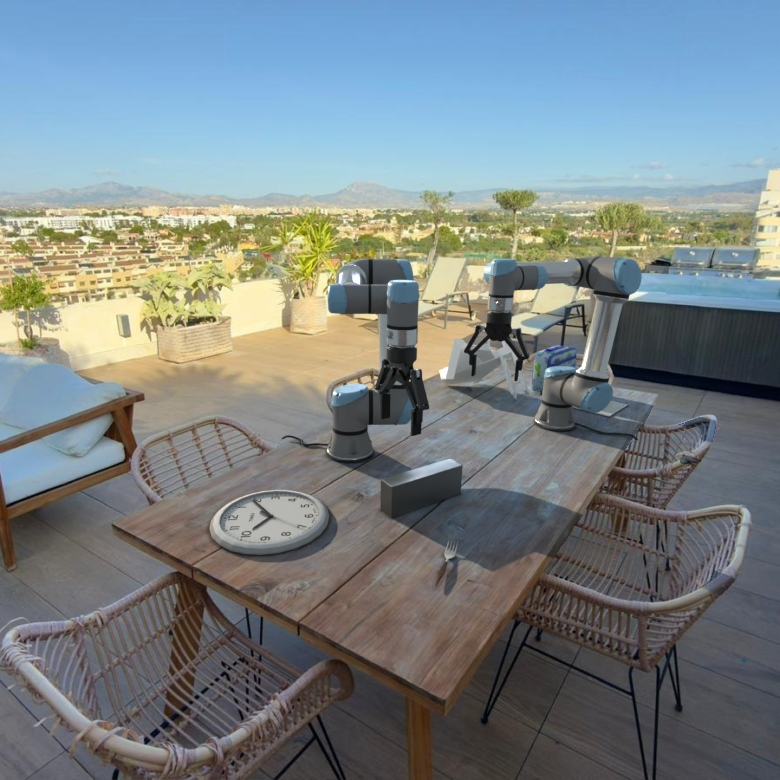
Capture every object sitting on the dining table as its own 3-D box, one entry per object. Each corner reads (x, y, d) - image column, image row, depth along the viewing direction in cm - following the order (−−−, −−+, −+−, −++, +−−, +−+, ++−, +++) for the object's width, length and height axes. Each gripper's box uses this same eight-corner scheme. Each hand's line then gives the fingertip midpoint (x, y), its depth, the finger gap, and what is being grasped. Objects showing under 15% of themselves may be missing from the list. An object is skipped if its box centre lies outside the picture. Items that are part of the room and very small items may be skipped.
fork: (429, 586, 111) (429, 578, 110) (447, 545, 125) (448, 538, 125) (441, 589, 110) (441, 581, 109) (458, 548, 124) (459, 541, 124)
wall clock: (327, 546, 121) (194, 551, 119) (327, 552, 122) (195, 557, 119) (330, 485, 150) (223, 488, 147) (330, 490, 150) (224, 493, 148)
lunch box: (548, 398, 236) (553, 353, 229) (527, 393, 243) (531, 349, 237) (575, 387, 253) (581, 344, 247) (555, 382, 260) (560, 341, 254)
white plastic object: (461, 429, 252) (437, 405, 227) (444, 352, 274) (420, 323, 250) (535, 404, 240) (518, 377, 215) (510, 326, 262) (492, 293, 237)
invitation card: (608, 416, 214) (573, 407, 224) (608, 416, 214) (573, 408, 224) (628, 404, 229) (594, 396, 238) (628, 405, 229) (594, 397, 238)
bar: (448, 486, 154) (450, 458, 152) (460, 493, 150) (462, 464, 147) (380, 509, 141) (380, 479, 138) (391, 518, 137) (391, 487, 134)
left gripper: (362, 337, 135) (362, 414, 142) (420, 357, 116) (417, 445, 122) (386, 334, 139) (385, 409, 146) (446, 353, 120) (442, 439, 126)
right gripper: (456, 309, 161) (453, 375, 167) (540, 315, 152) (533, 385, 158) (462, 306, 168) (459, 370, 174) (543, 312, 159) (536, 379, 165)
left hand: (399, 426), depth 134 cm, fingers open, 13 cm apart
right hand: (494, 377), depth 166 cm, fingers open, 13 cm apart
